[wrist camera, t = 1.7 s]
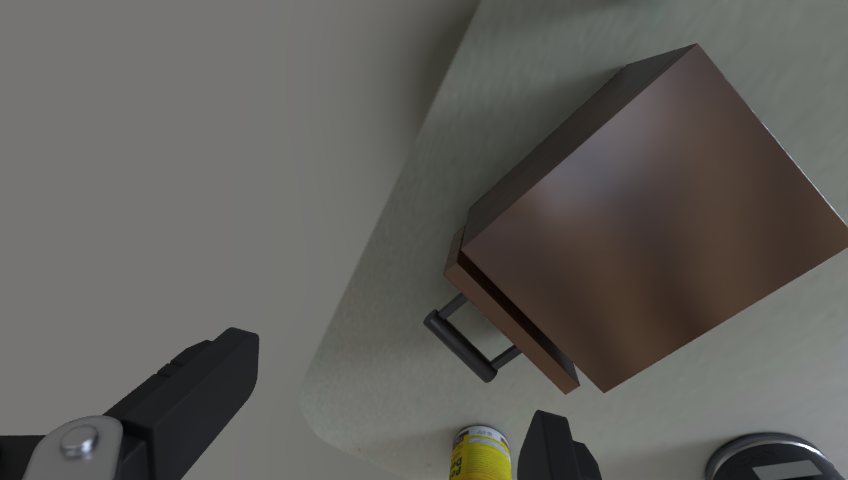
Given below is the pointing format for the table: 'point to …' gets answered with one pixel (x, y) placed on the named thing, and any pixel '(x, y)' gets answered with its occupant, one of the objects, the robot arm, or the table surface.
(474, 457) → the supplement bottle
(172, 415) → the robot arm
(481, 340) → the table surface
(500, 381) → the table surface
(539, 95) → the table surface
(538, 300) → the cabinet
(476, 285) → the drawer
